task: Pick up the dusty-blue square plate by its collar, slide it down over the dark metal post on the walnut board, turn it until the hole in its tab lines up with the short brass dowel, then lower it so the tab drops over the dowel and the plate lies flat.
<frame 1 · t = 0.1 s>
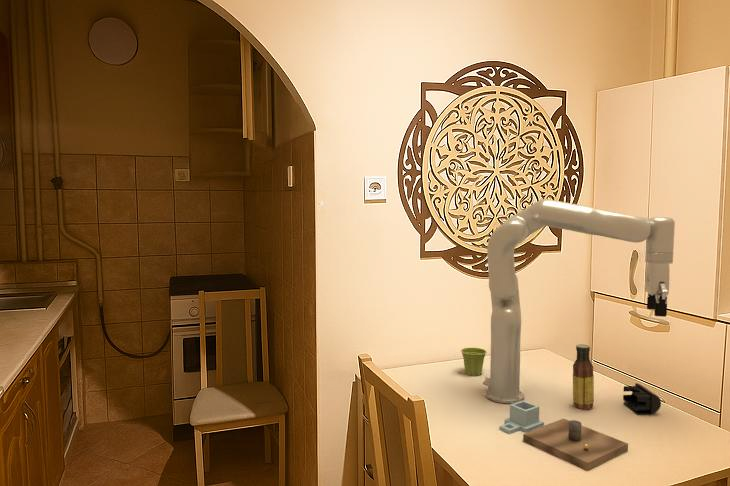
hand: (656, 312, 173), 31 cm above the table, tool pointing down, fingers open, 9 cm apart
brass dowel: (585, 457, 146), resting on post board
sauce bottle: (582, 406, 179), on the table
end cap: (640, 409, 177), on the table
flange plate: (524, 424, 166), on the table
post board: (574, 445, 152), on the table
plant pot: (473, 373, 211), on the table
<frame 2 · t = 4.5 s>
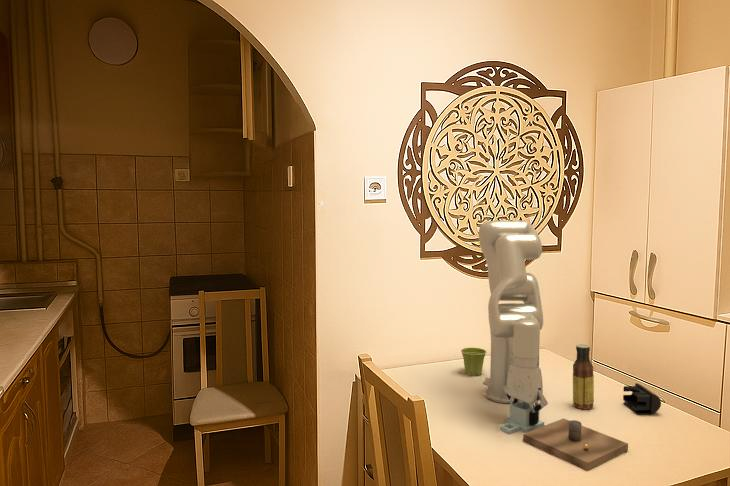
hand: (524, 419, 166), 1 cm above the table, tool pointing down, fingers closed on flange plate, 6 cm apart
flange plate: (524, 424, 166), on the table, touching gripper
everything else where it was.
when the fingers open (4 cm above the table, at t = 11.8 s): flange plate stays where it is, resting on post board.
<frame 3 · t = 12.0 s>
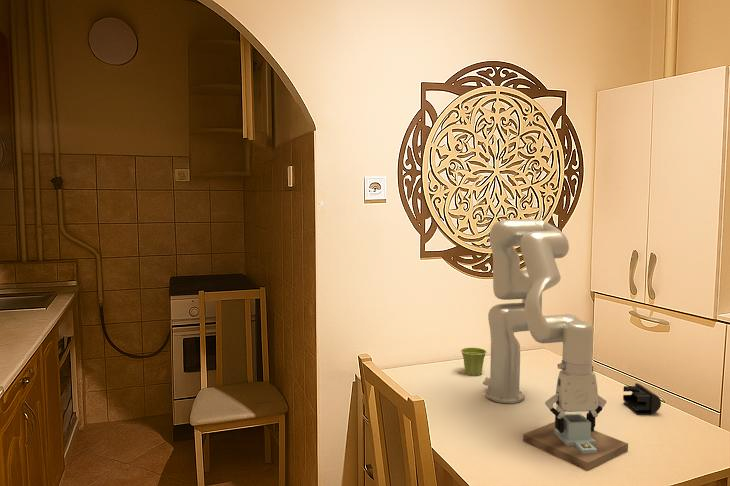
hand: (574, 429, 152), 4 cm above the table, tool pointing down, fingers open, 8 cm apart
flange plate: (574, 438, 152), point 2 cm above the table, touching post board
everything else where it was.
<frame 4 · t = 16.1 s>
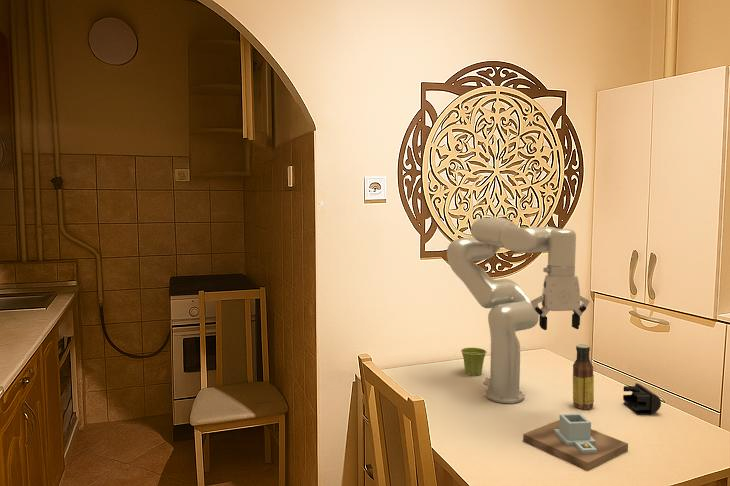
hand: (559, 328, 166), 28 cm above the table, tool pointing down, fingers open, 9 cm apart
nothing on the table moved.
at the end: flange plate 0.1 cm from the post board (horizontally); flange plate point 2.0 cm above the table; flange plate tilted 0° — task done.
